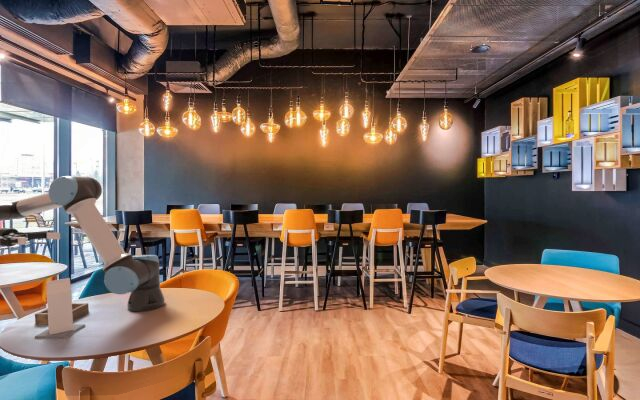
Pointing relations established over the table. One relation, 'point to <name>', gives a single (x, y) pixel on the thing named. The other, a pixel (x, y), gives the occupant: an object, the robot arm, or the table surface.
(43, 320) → the walnut holder
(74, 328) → the slate pad
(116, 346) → the table surface
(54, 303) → the milk carton
